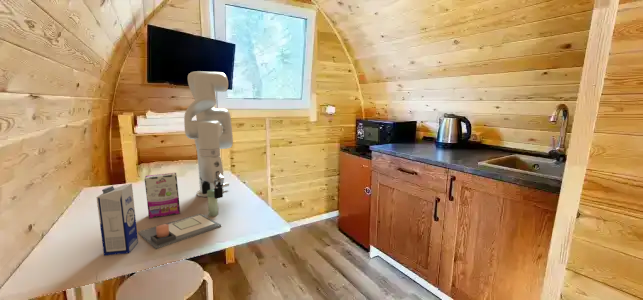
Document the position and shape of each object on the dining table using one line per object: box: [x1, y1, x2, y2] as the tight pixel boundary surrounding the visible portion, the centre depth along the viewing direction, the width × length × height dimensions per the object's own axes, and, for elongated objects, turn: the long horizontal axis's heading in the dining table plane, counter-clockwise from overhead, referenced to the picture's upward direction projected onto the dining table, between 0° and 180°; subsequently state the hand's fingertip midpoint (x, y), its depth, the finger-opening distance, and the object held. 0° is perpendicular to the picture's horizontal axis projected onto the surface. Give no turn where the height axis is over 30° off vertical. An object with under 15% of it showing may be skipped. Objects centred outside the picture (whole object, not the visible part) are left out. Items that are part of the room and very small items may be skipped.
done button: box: [155, 223, 169, 238], centre depth 94 cm, size 4×4×3 cm
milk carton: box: [96, 183, 139, 256], centre depth 88 cm, size 7×7×20 cm
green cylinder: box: [207, 189, 219, 217], centre depth 117 cm, size 4×4×10 cm
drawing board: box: [137, 213, 222, 250], centre depth 103 cm, size 22×16×2 cm
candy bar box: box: [144, 172, 181, 219], centre depth 116 cm, size 11×5×16 cm, turn 117°
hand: (212, 195), depth 115 cm, fingers open, 9 cm apart
